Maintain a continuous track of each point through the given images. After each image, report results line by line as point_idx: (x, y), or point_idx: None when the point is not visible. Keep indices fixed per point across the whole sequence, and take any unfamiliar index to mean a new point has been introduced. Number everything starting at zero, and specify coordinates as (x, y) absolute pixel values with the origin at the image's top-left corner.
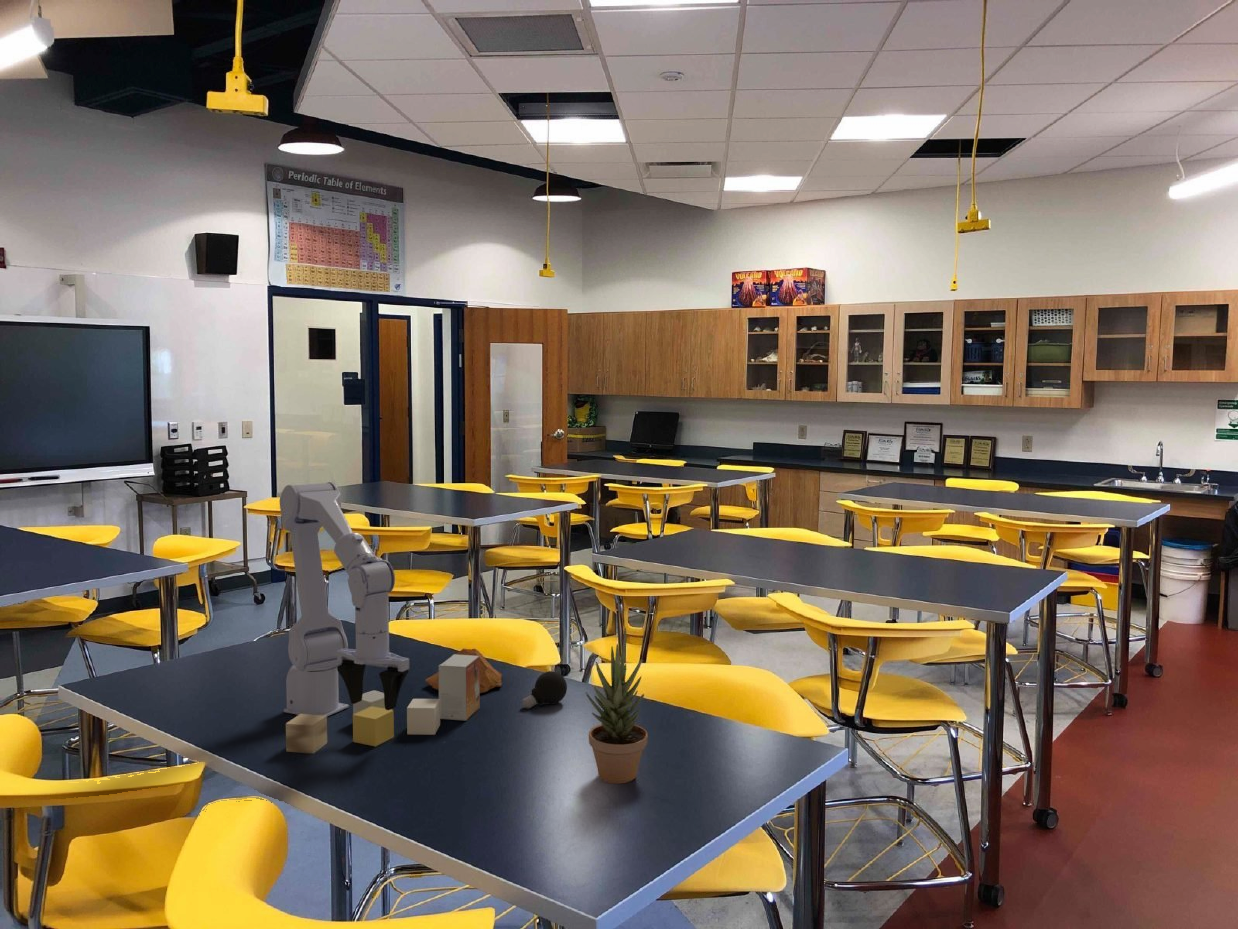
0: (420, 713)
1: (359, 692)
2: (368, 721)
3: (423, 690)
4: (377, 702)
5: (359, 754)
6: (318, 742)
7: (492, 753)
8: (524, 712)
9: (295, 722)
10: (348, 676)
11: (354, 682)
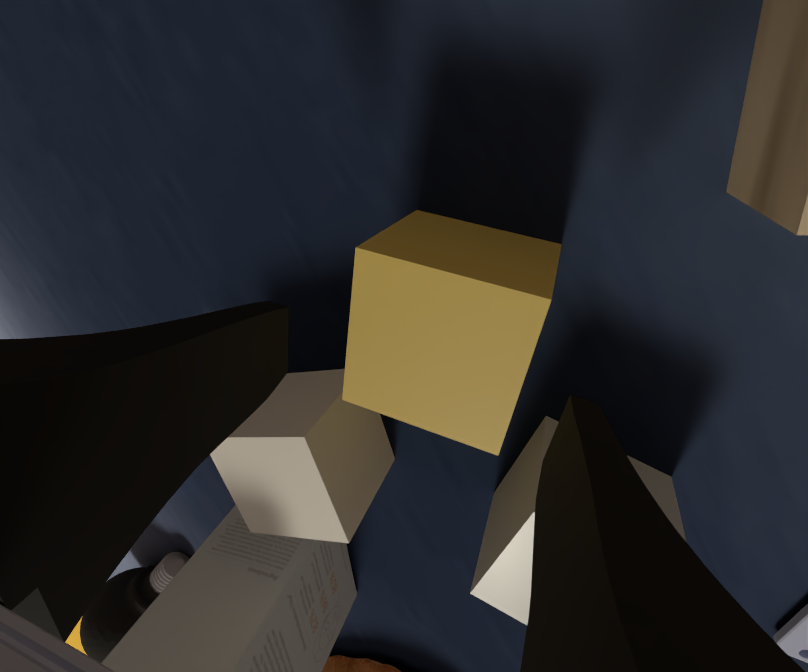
0: (267, 421)
1: (546, 500)
2: (419, 255)
3: None
4: (513, 529)
5: (442, 78)
6: (769, 54)
7: (43, 248)
8: (175, 533)
9: None
10: (613, 597)
11: (568, 560)
